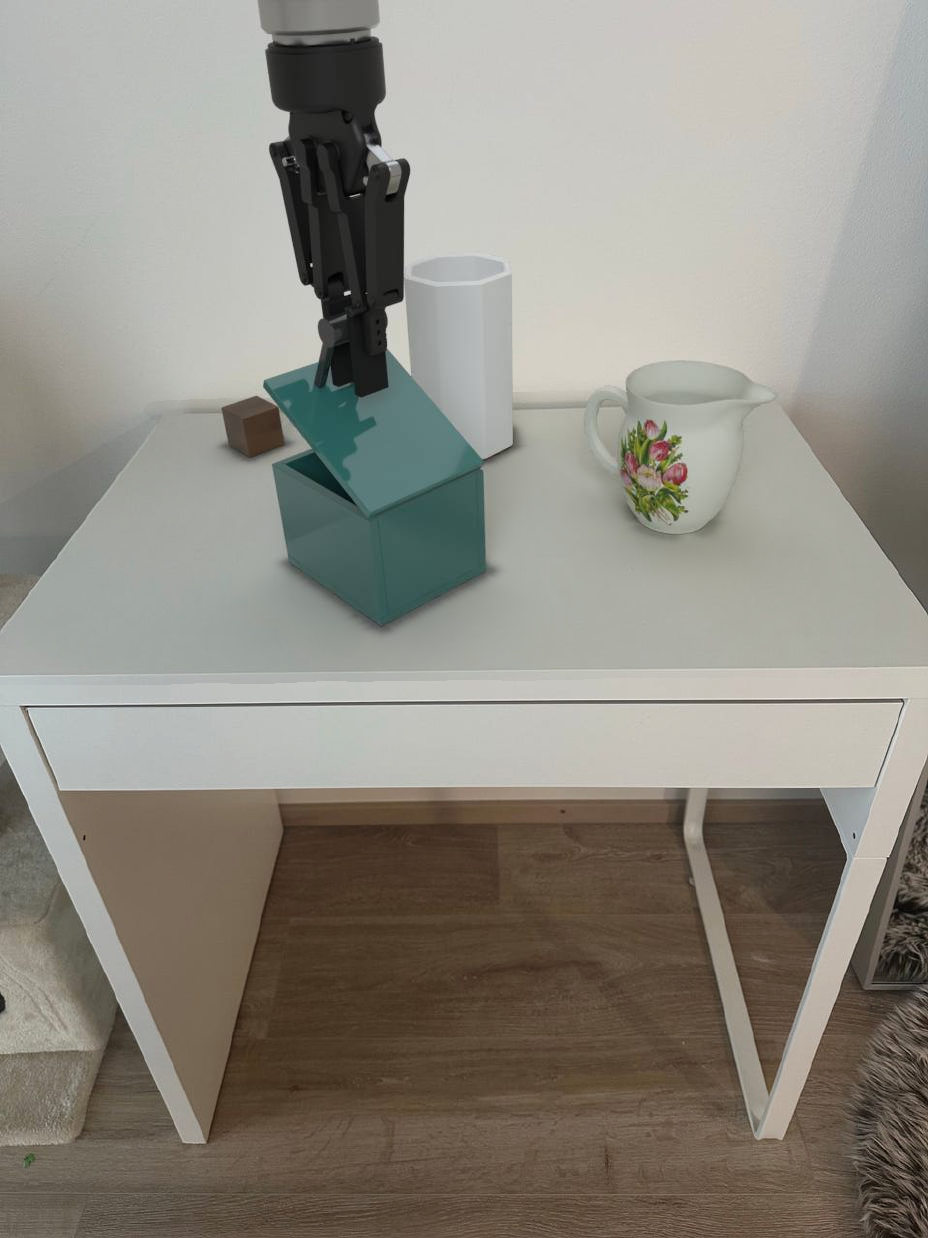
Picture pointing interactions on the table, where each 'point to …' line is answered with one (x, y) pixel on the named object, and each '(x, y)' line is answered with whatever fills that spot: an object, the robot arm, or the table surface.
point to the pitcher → (677, 439)
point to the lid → (372, 429)
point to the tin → (380, 538)
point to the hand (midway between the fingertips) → (360, 385)
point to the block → (253, 426)
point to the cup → (464, 342)
